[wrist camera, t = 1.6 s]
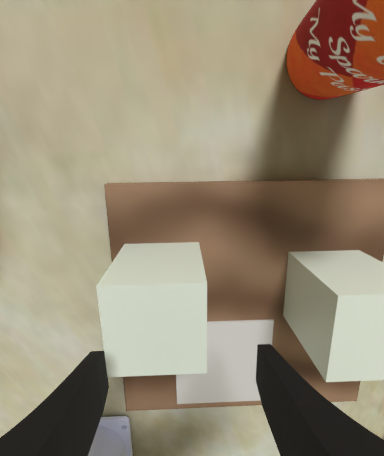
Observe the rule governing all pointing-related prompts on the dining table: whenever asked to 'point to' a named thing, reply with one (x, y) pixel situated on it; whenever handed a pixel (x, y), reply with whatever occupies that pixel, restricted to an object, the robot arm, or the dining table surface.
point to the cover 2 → (338, 312)
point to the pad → (227, 363)
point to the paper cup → (338, 48)
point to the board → (247, 253)
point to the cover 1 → (154, 310)
